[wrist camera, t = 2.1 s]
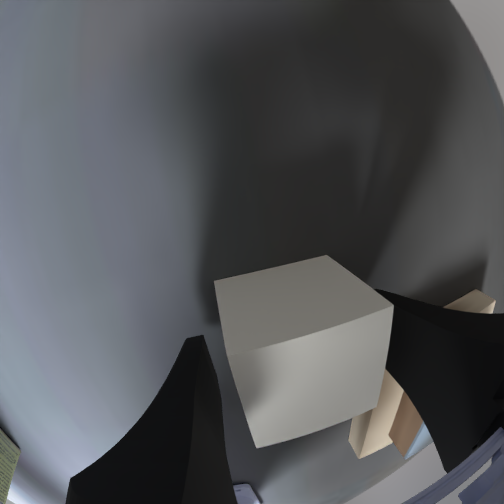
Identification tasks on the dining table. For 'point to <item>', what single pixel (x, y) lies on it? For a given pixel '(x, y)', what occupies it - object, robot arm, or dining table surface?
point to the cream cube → (303, 346)
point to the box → (7, 464)
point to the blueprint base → (391, 391)
